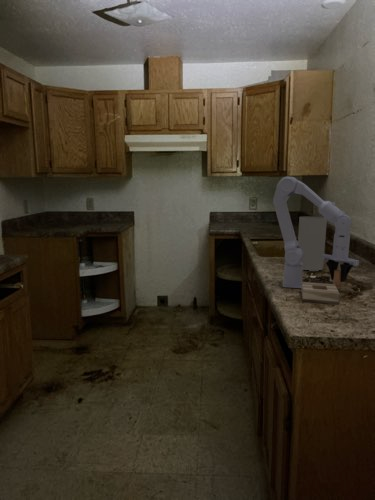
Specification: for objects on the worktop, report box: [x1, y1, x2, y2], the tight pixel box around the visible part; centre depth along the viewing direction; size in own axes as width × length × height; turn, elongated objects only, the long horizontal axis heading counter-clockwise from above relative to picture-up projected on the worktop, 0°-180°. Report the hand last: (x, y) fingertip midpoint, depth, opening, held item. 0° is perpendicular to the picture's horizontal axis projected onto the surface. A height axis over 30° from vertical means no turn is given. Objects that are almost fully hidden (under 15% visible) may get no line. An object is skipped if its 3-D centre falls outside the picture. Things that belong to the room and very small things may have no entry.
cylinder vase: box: [297, 216, 328, 272], centre depth 184 cm, size 12×12×25 cm
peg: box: [332, 269, 344, 288], centre depth 149 cm, size 4×4×6 cm
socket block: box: [300, 281, 340, 305], centre depth 140 cm, size 12×12×4 cm
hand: (338, 280), depth 149 cm, fingers closed on peg, 3 cm apart
